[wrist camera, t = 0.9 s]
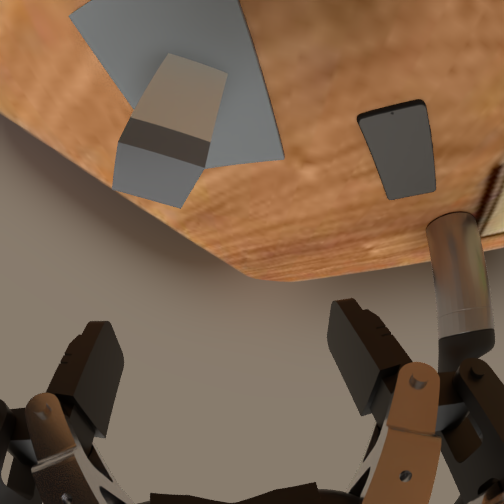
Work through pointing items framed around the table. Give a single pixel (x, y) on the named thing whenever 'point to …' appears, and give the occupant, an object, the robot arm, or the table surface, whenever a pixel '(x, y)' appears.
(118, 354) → the robot arm
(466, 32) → the table surface
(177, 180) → the block
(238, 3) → the desk mat
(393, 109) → the smartphone
